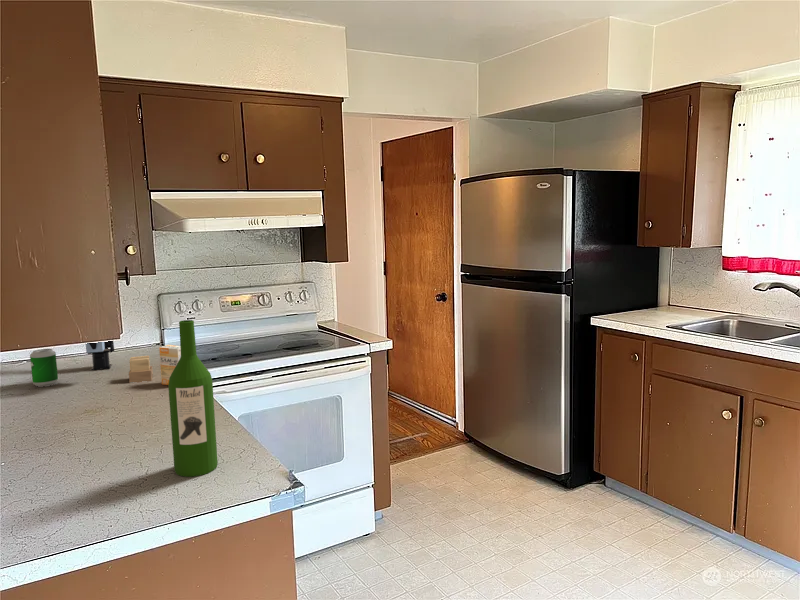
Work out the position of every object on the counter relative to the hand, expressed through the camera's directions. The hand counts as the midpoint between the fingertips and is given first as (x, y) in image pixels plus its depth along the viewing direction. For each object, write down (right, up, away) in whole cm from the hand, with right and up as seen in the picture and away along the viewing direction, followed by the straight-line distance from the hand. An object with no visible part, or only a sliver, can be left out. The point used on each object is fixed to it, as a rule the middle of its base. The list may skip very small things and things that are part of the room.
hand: (95, 347), depth 201 cm
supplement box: (+29, -12, -3) cm, 31 cm away
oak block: (+14, -8, +4) cm, 16 cm away
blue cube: (0, -1, 0) cm, 1 cm away
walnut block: (+14, -12, +4) cm, 19 cm away
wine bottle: (+61, -21, -74) cm, 98 cm away
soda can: (-17, -13, +1) cm, 22 cm away
